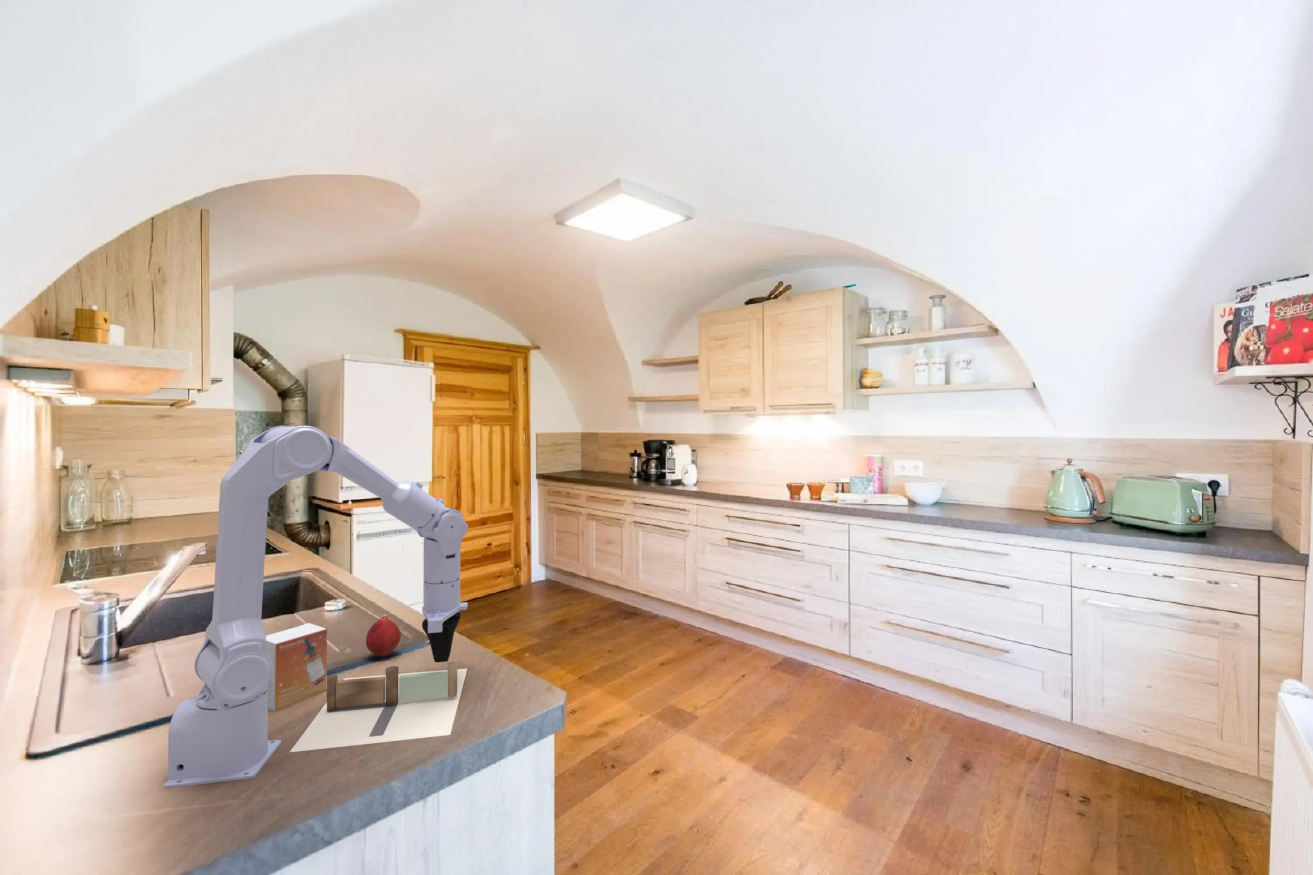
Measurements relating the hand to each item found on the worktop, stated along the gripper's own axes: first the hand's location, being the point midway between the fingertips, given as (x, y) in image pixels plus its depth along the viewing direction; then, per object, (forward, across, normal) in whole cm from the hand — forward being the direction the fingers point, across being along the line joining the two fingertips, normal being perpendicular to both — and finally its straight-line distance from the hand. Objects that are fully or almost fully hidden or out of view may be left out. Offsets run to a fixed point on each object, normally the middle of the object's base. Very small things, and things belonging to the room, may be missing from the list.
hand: (441, 660), depth 92 cm
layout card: (+4, -5, +7) cm, 9 cm away
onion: (+5, +15, +13) cm, 20 cm away
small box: (+5, +1, +23) cm, 23 cm away
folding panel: (+4, -5, +1) cm, 6 cm away
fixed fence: (+4, -5, +11) cm, 13 cm away
